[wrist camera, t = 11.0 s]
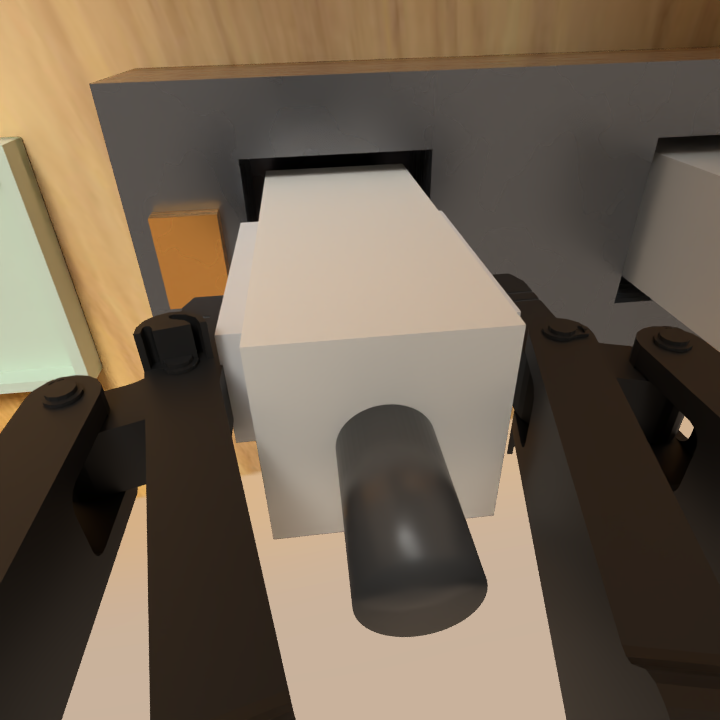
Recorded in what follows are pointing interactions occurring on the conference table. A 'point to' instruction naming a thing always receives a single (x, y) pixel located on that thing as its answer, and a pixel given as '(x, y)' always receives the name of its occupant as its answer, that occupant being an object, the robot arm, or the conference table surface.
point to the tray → (35, 287)
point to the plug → (378, 386)
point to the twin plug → (681, 234)
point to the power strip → (416, 159)
